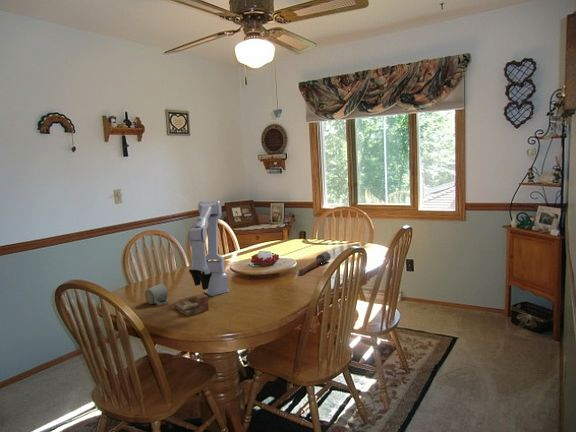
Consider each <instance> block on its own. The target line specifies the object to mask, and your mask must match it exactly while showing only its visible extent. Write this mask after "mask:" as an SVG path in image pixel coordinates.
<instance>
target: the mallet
mask: <svg viewBox="0 0 576 432" xmlns="http://www.w3.org/2000/svg"><path fill="white" fill-rule="evenodd" d="M330 260H331V254H330V253H329V252H328V251H323V252H322V253H321V254H318V255H316V257H315V260H314V261H313V262H311V263H309V264H308V265H307V266H305V267H304V268H303V267H302V268H301V269H299V270H298V274H299V275H300V274H303V275H304V274H306V273H307V272H308V271H309V270H311V269H312V268H314V267H316V266H317V265H320V264H319V263H322V264H321V265H325V264H326V263H327V262H328V261H330ZM325 262H326V263H325Z"/></svg>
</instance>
